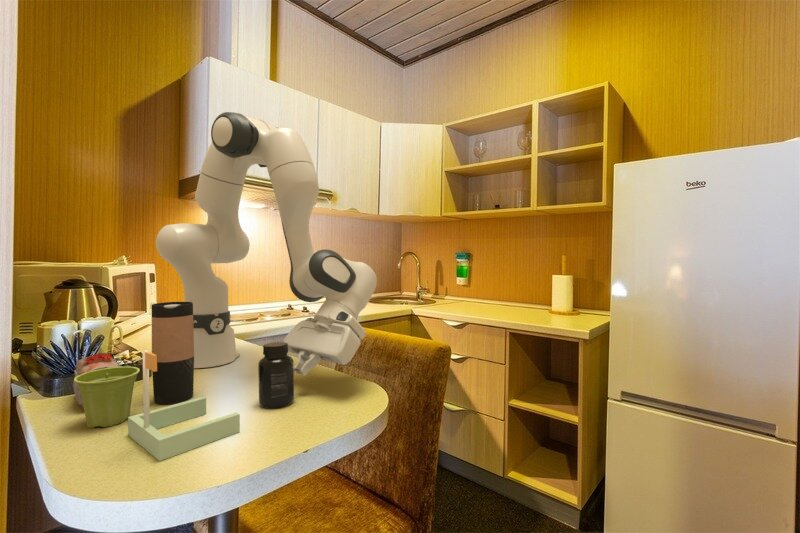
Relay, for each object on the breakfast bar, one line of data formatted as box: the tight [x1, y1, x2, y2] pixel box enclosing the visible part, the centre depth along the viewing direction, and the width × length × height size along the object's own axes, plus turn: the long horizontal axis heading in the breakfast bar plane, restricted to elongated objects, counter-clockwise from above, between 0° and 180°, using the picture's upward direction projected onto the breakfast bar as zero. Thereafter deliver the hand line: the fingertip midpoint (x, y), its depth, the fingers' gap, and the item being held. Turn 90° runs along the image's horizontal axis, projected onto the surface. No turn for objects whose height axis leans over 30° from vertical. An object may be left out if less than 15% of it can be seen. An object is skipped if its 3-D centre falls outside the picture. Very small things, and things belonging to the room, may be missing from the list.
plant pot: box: [73, 366, 140, 428], centre depth 70 cm, size 9×9×9 cm
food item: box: [72, 352, 121, 409], centre depth 80 cm, size 14×8×10 cm, turn 46°
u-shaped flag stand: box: [127, 349, 241, 462], centre depth 65 cm, size 13×12×15 cm
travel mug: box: [151, 301, 195, 406], centre depth 81 cm, size 8×8×20 cm
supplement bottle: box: [257, 341, 295, 409], centre depth 78 cm, size 7×7×12 cm
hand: (299, 372), depth 83 cm, fingers closed
